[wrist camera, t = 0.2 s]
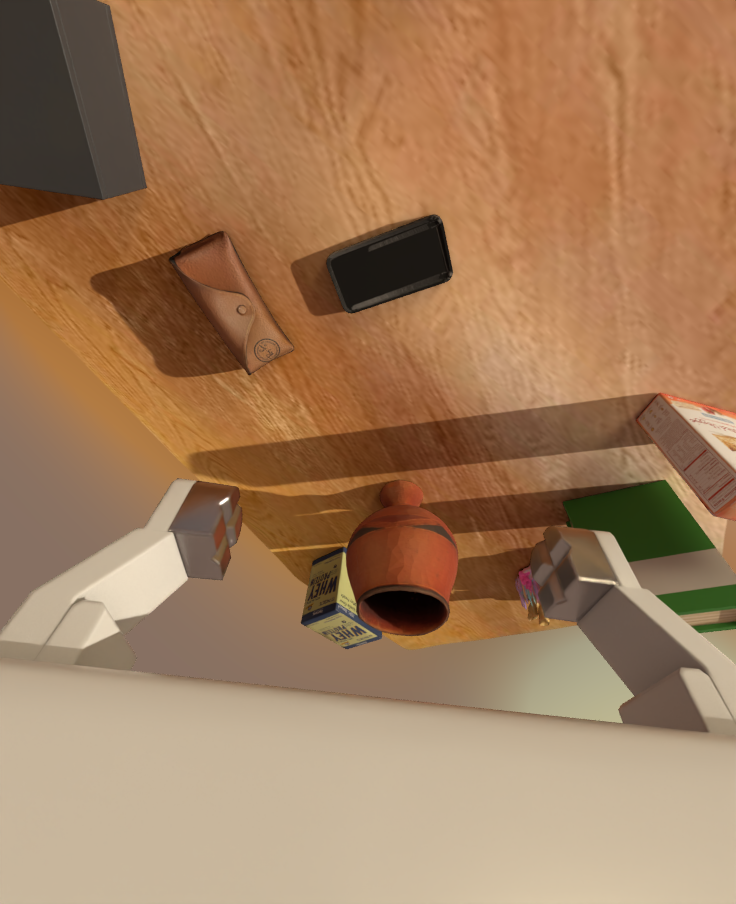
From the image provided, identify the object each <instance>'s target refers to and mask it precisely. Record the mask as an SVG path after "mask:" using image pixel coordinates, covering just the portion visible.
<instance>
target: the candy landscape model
mask: <svg viewBox="0 0 736 904" xmlns="http://www.w3.org/2000/svg"><path fill="white" fill-rule="evenodd" d="M517 577H518V576H517ZM515 580H516V579H515ZM517 581H518V583H517ZM517 581H516V583H515V585H517V586H516V589H517V591H518V592H519V596H520V599H521V603H522V606H523V607H525V609H526V603H525V600H524V598H525V599H526V602H527V604H528V600H530V602H531V603H530V605H529V607H528V611H529V613H528V619H529V620H533V619H536V618H537V616H538V615H539V624H540V625H542V626H547V625H549V618H545V616H544V613H543V610H542V606H541V603H540V600H539V597H538V592H539V590H540V588H541V586H540V585H539V584H538V583H537V582H536V581H535V580H534V579H533V576H532V573H531V568H530V566H529V567H527V568H524V569H523V570H522V571H520V572H519V578H517ZM518 587H519V589H518ZM523 603H524V604H523ZM537 608H538V612H537Z"/></svg>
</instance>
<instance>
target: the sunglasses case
mask: <svg viewBox="0 0 736 904" xmlns="http://www.w3.org/2000/svg"><path fill="white" fill-rule="evenodd" d="M169 262H170V263H171V264H172V266H173V267H174V269H175V270H176V272H177V273H178V275H179V276H180V278H181V280H182V281H183V283H184V284H185V286H186V287H187V289H188V290H189V292H190V293H191V295H192V296H193V298H194V299H195V301H196V302H197V304H198V305H199V307H200V308H201V310H202V311H203V312H204V314H205V315H206V317H207V318H208V320H209V321H210V322H211V324H212V325H213V327H214V328H215V330H216V331H217V332H218V334H219V335H220V337H221V338H222V340H223V341H224V342H225V344H226V345H227V347H228V348H229V349H230V351H231V352H232V354H233V355H234V356H235V357H236V359H237V360H238V361H239V363H240V364H241V365H242V367H243V368H244V369H245V370H246V372H247V374H248V375H251V373H254V372H255V371H257V370H258V369H260V368H261V367H263V366H264V365H266V364H267V363H269V362H270V361H272V360H274V359H276V358H278V357H280V356H283V355H285V354H287V353H290V352H292V351H293V350H294V346H293V345H292V344H291V342H290V341H289V339H288V338H287V337H286V336H285V334H284V333H283V332H282V330H281V329H280V327H279V326H278V324H277V323H276V321H275V320H274V318H273V316H272V315H271V313H270V311H269V310H268V308H267V306H266V305H265V303H264V301H263V300H262V298H261V296H260V295H259V293H258V291H257V289H256V288H255V286H254V284H253V282H252V281H251V279H250V277H249V275H248V273H247V271H246V269H245V268H244V266H243V264H242V262H241V260H240V258H239V256H238V254H237V252H236V250H235V248H234V246H233V244H232V242H231V240H230V238H229V236H228V234H227V233H226V232H223V231H220V232H217V233H215V234H213V235H211V236H209V237H207V238H205V239H203V240H201V241H199V242H197V243H194V244H192V245H190V246H188V247H186V248H184V249H182V250H181V251H179V252H178V253H177V254H175V255H174V256H172V257H170V259H169Z"/></svg>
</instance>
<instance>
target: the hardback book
mask: <svg viewBox="0 0 736 904" xmlns="http://www.w3.org/2000/svg"><path fill="white" fill-rule="evenodd" d="M563 505H564V507H565V510H566V512H567V514H568V517H569V519H570V521H569V522H566V524H567V527H572V528H581V529H587V530H596V531H604V532H610V533H611V534H612V535H613V536H614V537H615V539H616V541H617V543H618V545H619V547H620V549H621V550H622V552H623V554H624V556H625V558H626V560H627V562H628V564H629V566H630V567H631V569H632V571H633V573H634V575H635V577H636V579H637V581H638V583H639V585H640V586H641V588H643V589H648V590H649V591H650V592H651V593H652V594H654V595H655V596H656V597H657V598H658V599H660V600H661V601H662V602H663V603H664V604H665V605H667V606H668V607H669V608H670V609H671V610H672V611H674V612H675V613H676V614H677V615H678V616H679V617H681V618H682V619H683V620H684V621H685V622H686V623H688V624H689V625H690V626H691V627H692V628H694V629H695V630H696V631H697V632H698V633H703V632H713V631H722V630H731V629H736V574H735V573H734V572H733V571H732V569H731V568H730V566H729V565H728V564H727V562H726V561H725V560H724V558H723V557H722V555H721V554H720V553H719V551H718V550H717V549H716V547H715V546H714V545H713V543H712V542H711V541H710V539H709V538H708V537H707V535H706V534H705V533H704V531H703V530H702V529H701V527H700V526H699V525H698V523H697V522H696V520H695V519H694V518H693V516H692V515H691V514H690V512H689V511H688V510H687V508H686V507H685V506H684V504H683V503H682V502H681V500H680V499H679V498H678V496H677V495H676V494H675V492H674V491H673V490H672V488H671V487H670V486H669V484H668V483H667V481H666V480H663V481H658V482H653V483H649V484H644V485H639V486H635V487H630V488H625V489H621V490H616V491H611V492H607V493H602V494H597V495H593V496H588V497H583V498H579V499H574V500H569V501H565V502H563Z"/></svg>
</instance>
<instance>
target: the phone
mask: <svg viewBox="0 0 736 904" xmlns="http://www.w3.org/2000/svg"><path fill="white" fill-rule="evenodd" d="M327 268H328V271H329V273H330V276H331V278H332V281H333V283H334V286H335V289H336V291H337V294H338V296H339V299H340V301H341V304H342V306H343V309H344V310H345V311H346V312H348V313H356V312H359V311H362V310H365V309H368V308H371V307H374V306H376V305H379V304H382V303H385V302H388V301H391V300H394V299H397V298H400V297H403V296H406V295H409V294H412V293H415V292H418V291H421V290H424V289H427V288H430V287H433V286H436V285H439V284H442V283H445V282H447V281H449V280H450V279H451V277H452V274H453V270H452V265H451V260H450V255H449V250H448V245H447V240H446V236H445V231H444V226H443V222H442V220H441V218H440V217H439V216H437V215H430V216H427V217H424V218H422V219H419V220H417V221H414V222H411V223H409V224H406V225H403V226H400V227H398V228H396V229H393V230H391V231H388V232H385V233H383V234H380V235H378V236H375V237H372V238H370V239H367V240H365V241H362V242H359V243H357V244H354V245H351V246H349V247H346V248H344V249H341V250H338V251H336V252H333V253H332V254H330V255H329V257H328V259H327Z"/></svg>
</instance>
